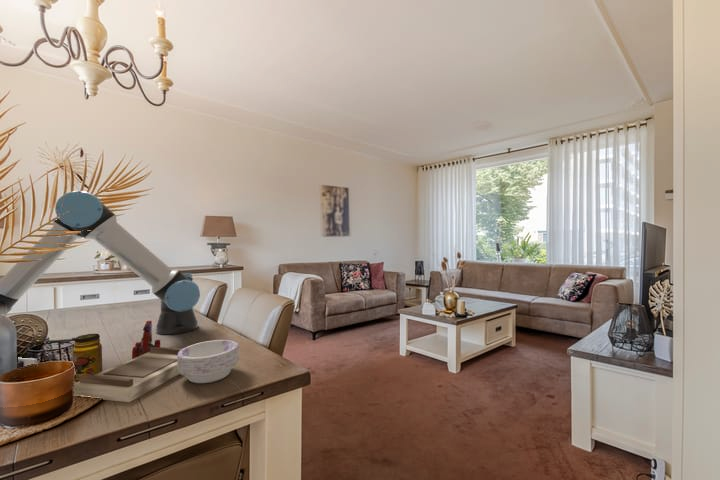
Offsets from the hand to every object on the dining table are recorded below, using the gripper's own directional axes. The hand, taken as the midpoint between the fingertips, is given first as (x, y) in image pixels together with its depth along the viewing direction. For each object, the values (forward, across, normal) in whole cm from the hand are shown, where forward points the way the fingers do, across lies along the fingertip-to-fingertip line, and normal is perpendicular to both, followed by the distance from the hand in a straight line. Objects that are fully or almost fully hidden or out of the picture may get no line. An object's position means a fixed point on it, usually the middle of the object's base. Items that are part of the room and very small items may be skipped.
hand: (64, 355), depth 92 cm
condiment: (+8, 0, -6) cm, 10 cm away
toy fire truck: (+9, -18, -6) cm, 21 cm away
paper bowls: (+39, -8, -6) cm, 40 cm away
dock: (+22, -3, -6) cm, 23 cm away
